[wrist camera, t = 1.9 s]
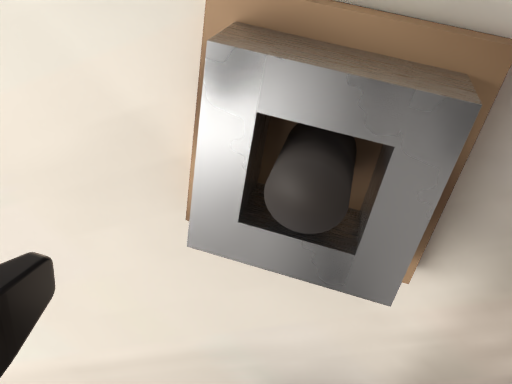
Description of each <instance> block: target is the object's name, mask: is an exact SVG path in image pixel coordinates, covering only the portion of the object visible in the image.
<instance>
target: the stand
mask: <svg viewBox="0 0 512 384" xmlns="http://www.w3.org/2000/svg"><path fill="white" fill-rule="evenodd" d="M235 21H236V22H240V23H245V24H249V25H253V26H258V27H262V28H267V29H271V30H275V31H280V32H284V33H289V34H293V35H298V36H302V37H306V38H311V39H315V40H320V41H324V42H328V43H333V44H337V45H342V46H346V47H350V48H355V49H359V50H364V51H368V52H372V53H377V54H381V55H386V56H390V57H394V58H399V59H403V60H408V61H412V62H416V63H421V64H425V65H430V66H434V67H439V68H443V69H447V70H452V71H456V72H461V73H465V74H468V76H469V78H470V80H471V83H472V85H473V87H474V89H475V91H476V93H477V95H478V97H479V99H480V101H481V103H482V107H481V109H480V111H479V113H478V116H477V118H476V120H475V122H474V124H473V127H472V129H471V131H470V133H469V135H468V138H467V140H466V142H465V144H464V146H463V149H462V151H461V153H460V155H459V157H458V159H457V162H456V164H455V166H454V168H453V170H452V173H451V175H450V177H449V179H448V181H447V184H446V186H445V188H444V190H443V192H442V195H441V197H440V199H439V201H438V203H437V206H436V208H435V210H434V212H433V214H432V217H431V219H430V221H429V223H428V225H427V228H426V230H425V232H424V234H423V236H422V239H421V241H420V243H419V245H418V247H417V250H416V252H415V254H414V256H413V258H412V261H411V263H410V265H409V267H408V269H407V272H406V274H405V276H404V278H403V280H402V282H403V283H407V284H409V282H410V280H411V278H412V276H413V274H414V271H415V269H416V267H417V265H418V263H419V261H420V259H421V257H422V254H423V252H424V250H425V248H426V246H427V244H428V242H429V239H430V237H431V235H432V233H433V231H434V229H435V227H436V224H437V222H438V220H439V218H440V216H441V214H442V212H443V209H444V207H445V205H446V203H447V201H448V199H449V197H450V195H451V192H452V190H453V188H454V186H455V184H456V182H457V180H458V177H459V175H460V173H461V171H462V169H463V167H464V165H465V162H466V160H467V158H468V156H469V154H470V152H471V150H472V148H473V145H474V143H475V141H476V139H477V137H478V135H479V133H480V130H481V128H482V126H483V124H484V122H485V120H486V118H487V115H488V113H489V111H490V109H491V107H492V105H493V103H494V100H495V98H496V96H497V94H498V92H499V90H500V88H501V86H502V83H503V81H504V79H505V77H506V75H507V73H508V71H509V68H510V66H511V64H512V39H509V38H505V37H500V36H495V35H491V34H486V33H481V32H477V31H472V30H467V29H463V28H458V27H454V26H449V25H444V24H440V23H435V22H430V21H426V20H421V19H416V18H412V17H407V16H402V15H398V14H393V13H388V12H384V11H379V10H374V9H370V8H365V7H361V6H356V5H351V4H347V3H342V2H337V1H333V0H206V5H205V15H204V26H203V37H202V48H201V59H200V70H199V81H198V92H197V102H196V113H195V124H194V135H193V146H192V157H191V168H190V178H189V189H188V200H187V211H186V220H188V221H189V220H190V210H191V200H192V190H193V179H194V169H195V159H196V149H197V138H198V128H199V118H200V108H201V97H202V87H203V77H204V67H205V57H206V46H207V40H208V39H210V38H211V37H213V36H214V35H216V34H217V33H219V32H220V31H222V30H223V29H225V28H226V27H228V26H229V25H231V24H232V23H234V22H235ZM382 146H383V144H381V143H377V142H373V141H369V140H365V139H361V138H357V137H353V136H349V135H345V134H341V133H337V132H333V131H329V130H326V129H322V128H318V127H314V126H310V125H306V124H302V123H298V122H294V121H290V120H286V119H282V118H278V117H274V116H270V120H269V125H268V130H267V136H266V141H265V146H264V151H263V157H262V162H261V167H260V173H259V178H258V183H261V184H264V185H265V188H264V199H265V203H266V206H267V208H268V210H269V212H270V214H271V215H272V216H273V217H274V219H275V220H277V221H278V222H279V223H280V224H281V225H283V226H284V227H286V228H288V229H290V230H293V231H296V232H299V233H305V234H316V233H322V232H325V231H328V230H330V229H332V228H334V227H335V226H337V225H338V224H339V223H340V222H341V221H342V220H343V218H344V217H345V215H346V213H347V211H348V207H349V208H353V209H356V210H360V209H361V206H362V204H363V201H364V198H365V195H366V192H367V189H368V186H369V183H370V180H371V178H372V175H373V172H374V169H375V166H376V163H377V160H378V157H379V154H380V152H381V149H382Z"/></svg>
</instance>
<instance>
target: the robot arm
mask: <svg viewBox="0 0 512 384" xmlns="http://www.w3.org/2000/svg"><path fill="white" fill-rule="evenodd" d="M54 291H55V278H54V269H53V262H52V260H51V258H50V257H48V256H45V255H42V254H39V253H35V252H30V253H26V254H24V255H21V256H19V257H16V258H14V259H11V260H9V261H6V262H4V263H2V264H0V377H1V376H2V375H3V373H4V372H5V371H6V369H7V368H8V367H9V365H10V364H11V362H12V361H13V359H14V358H15V356H16V355H17V353H18V352H19V350H20V349H21V347H22V345H23V344H24V342H25V341H26V339H27V337H28V336H29V334H30V332H31V331H32V329H33V328H34V326H35V324H36V323H37V321H38V320H39V318H40V316H41V315H42V313H43V312H44V310H45V308H46V307H47V305H48V303H49V302H50V300H51V299H52V297H53V294H54Z"/></svg>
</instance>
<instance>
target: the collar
mask: <svg viewBox="0 0 512 384" xmlns="http://www.w3.org/2000/svg"><path fill="white" fill-rule="evenodd" d="M481 107H482V103H481V101H480V99H479V97H478V95H477V93H476V91H475V89H474V87H473V85H472V83H471V80H470V78H469V76H468V74H465V73H461V72H456V71H452V70H447V69H443V68H439V67H434V66H430V65H425V64H421V63H416V62H412V61H408V60H403V59H399V58H394V57H390V56H386V55H381V54H377V53H372V52H368V51H364V50H359V49H355V48H350V47H346V46H342V45H337V44H333V43H328V42H324V41H320V40H315V39H311V38H306V37H302V36H298V35H293V34H289V33H284V32H280V31H275V30H271V29H267V28H262V27H258V26H253V25H249V24H245V23H240V22H236V21H235V22H234V23H232V24H231V25H229V26H228V27H226V28H225V29H223V30H222V31H220V32H219V33H217V34H216V35H214V36H213V37H211V38H210V39H208V40H207V46H206V57H205V67H204V77H203V87H202V97H201V108H200V118H199V128H198V138H197V149H196V159H195V169H194V179H193V190H192V200H191V210H190V220H189V230H188V241H187V247H191V248H194V249H197V250H201V251H204V252H207V253H211V254H214V255H218V256H221V257H224V258H228V259H231V260H235V261H238V262H241V263H245V264H248V265H252V266H255V267H258V268H262V269H265V270H268V271H272V272H275V273H279V274H282V275H285V276H289V277H292V278H296V279H299V280H302V281H306V282H309V283H312V284H316V285H319V286H323V287H326V288H329V289H333V290H336V291H340V292H343V293H346V294H350V295H353V296H357V297H360V298H363V299H367V300H370V301H373V302H377V303H380V304H384V305H387V306H390V307H391V305H392V302H393V300H394V298H395V296H396V294H397V291H398V289H399V287H400V285H401V283H402V280H403V278H404V276H405V274H406V272H407V269H408V267H409V265H410V263H411V261H412V258H413V256H414V254H415V252H416V250H417V247H418V245H419V243H420V241H421V239H422V236H423V234H424V232H425V230H426V228H427V225H428V223H429V221H430V219H431V217H432V214H433V212H434V210H435V208H436V206H437V203H438V201H439V199H440V197H441V195H442V192H443V190H444V188H445V186H446V184H447V181H448V179H449V177H450V175H451V173H452V170H453V168H454V166H455V164H456V162H457V159H458V157H459V155H460V153H461V151H462V149H463V146H464V144H465V142H466V140H467V138H468V135H469V133H470V131H471V129H472V127H473V124H474V122H475V120H476V118H477V116H478V113H479V111H480V109H481ZM270 116H274V117H278V118H282V119H286V120H290V121H294V122H298V123H302V124H306V125H310V126H314V127H318V128H322V129H326V130H329V131H333V132H337V133H341V134H345V135H349V136H353V137H357V138H361V139H365V140H369V141H373V142H377V143H381V144H383V146H382V149H381V152H380V154H379V157H378V160H377V163H376V166H375V169H374V172H373V175H372V178H371V180H370V183H369V186H368V189H367V192H366V195H365V198H364V201H363V204H362V206H361V209H360V210H356V209H353V208H349V207H348V211H347V213H346V215H345V217H344V218H343V220H342V221H341V222H340V223H339V224H338V225H337V226H335V227H334V228H332V229H330V230H328V231H325V232H322V233H316V234H305V233H299V232H296V231H293V230H290V229H288V228H286V227H284V226H283V225H281V224H280V223H279V222H278V221H277V220H275V219H274V217H273V216H272V215H271V214H270V212H269V210H268V208H267V206H266V203H265V199H264V188H265V185H264V184H261V183H258V178H259V173H260V167H261V162H262V157H263V151H264V146H265V141H266V136H267V130H268V125H269V120H270Z"/></svg>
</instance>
